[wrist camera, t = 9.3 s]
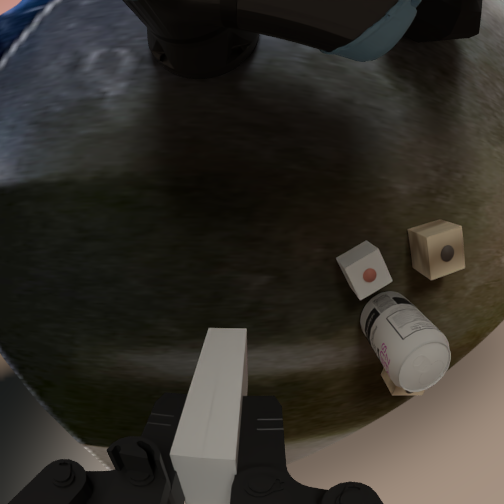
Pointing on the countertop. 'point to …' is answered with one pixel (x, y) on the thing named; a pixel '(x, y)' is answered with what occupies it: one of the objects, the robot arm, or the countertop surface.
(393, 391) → the maple block
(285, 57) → the countertop surface
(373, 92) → the countertop surface
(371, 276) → the grey plastic block
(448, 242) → the maple block
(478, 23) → the bottle
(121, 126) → the countertop surface
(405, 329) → the supplement can
